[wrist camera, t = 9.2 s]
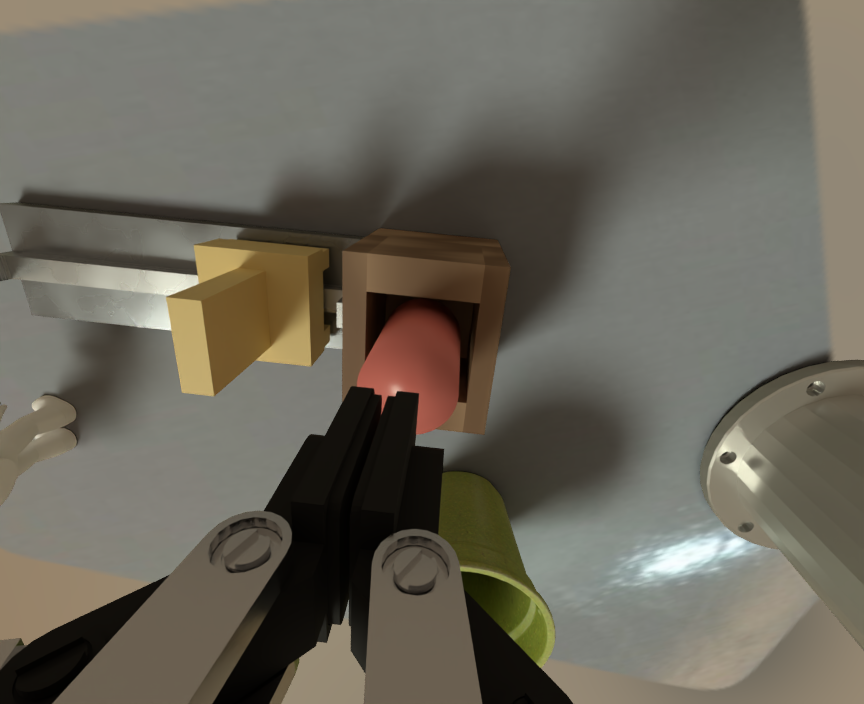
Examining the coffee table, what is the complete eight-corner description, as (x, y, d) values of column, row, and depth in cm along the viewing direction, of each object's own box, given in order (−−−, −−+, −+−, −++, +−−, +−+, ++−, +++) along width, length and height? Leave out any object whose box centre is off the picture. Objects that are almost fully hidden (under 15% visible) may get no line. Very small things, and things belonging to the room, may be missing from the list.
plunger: (464, 302, 17) (464, 349, 12) (456, 373, 18) (453, 440, 14) (386, 294, 17) (357, 338, 12) (383, 365, 18) (356, 428, 14)
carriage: (328, 245, 21) (255, 283, 13) (330, 343, 23) (266, 420, 15) (229, 235, 21) (105, 267, 14) (239, 333, 23) (135, 405, 16)
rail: (369, 237, 22) (350, 249, 18) (367, 344, 24) (349, 375, 20) (17, 202, 22) (-72, 207, 19) (48, 310, 25) (-25, 333, 21)
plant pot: (545, 460, 26) (580, 586, 18) (512, 567, 30) (529, 710, 22) (397, 436, 26) (368, 550, 18) (383, 545, 30) (353, 679, 22)
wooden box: (497, 239, 21) (510, 267, 15) (479, 364, 24) (484, 434, 17) (379, 228, 21) (342, 250, 15) (375, 353, 24) (342, 418, 18)
